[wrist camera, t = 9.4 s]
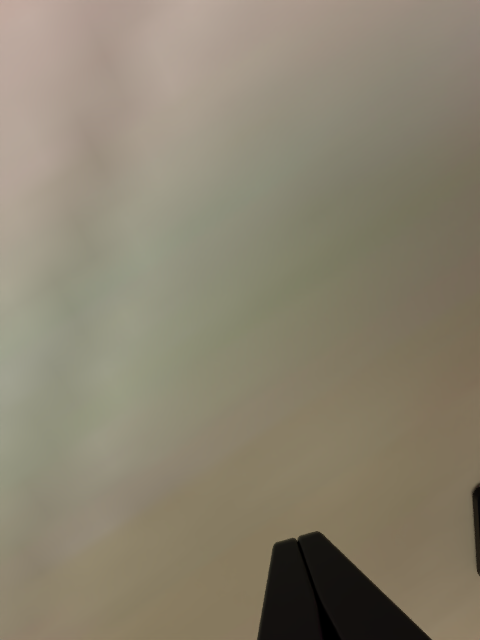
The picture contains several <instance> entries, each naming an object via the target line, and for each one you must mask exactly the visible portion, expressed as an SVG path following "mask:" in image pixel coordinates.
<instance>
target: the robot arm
mask: <svg viewBox="0 0 480 640" xmlns="http://www.w3.org/2000/svg"><path fill="white" fill-rule="evenodd" d="M473 509H474V526H475V542H476V558H477V572H478V574H479V576H480V487H479V488H477V489H476V490H475V491H474V493H473ZM297 541H298V542H297ZM257 640H432V639H431V638H430V637H429V636H428V635H427V634H426V633H424V632H423V631H422V630H421V629H420V628H419V627H418V626H417V625H416V624H415V623H414V622H413V621H412V620H411V619H410V618H409V617H408V616H407V615H406V614H405V613H404V612H403V611H402V610H401V609H400V608H399V607H398V606H397V605H395V604H394V603H393V602H392V601H391V600H390V599H389V598H388V597H387V596H386V595H385V594H384V593H383V592H382V591H381V590H380V589H379V588H378V587H377V586H376V585H375V584H374V583H373V582H372V581H371V580H370V579H369V578H368V577H366V576H365V575H364V574H363V573H362V572H361V571H360V570H359V569H358V568H357V567H356V566H355V565H354V564H353V563H352V562H351V561H350V560H349V559H348V558H347V557H346V556H345V555H344V554H343V553H342V552H341V551H340V550H339V549H337V548H336V547H335V546H334V545H333V544H332V543H331V542H330V541H329V540H328V539H327V538H326V537H325V536H324V535H323V534H322V533H320V532H318V531H315V532H312V533H308V534H305V535H301V536H299V537H298V540H296V539H295V538H290V539H287V540H283V541H280V542H276V543H275V544H274V546H273V549H272V555H271V561H270V567H269V573H268V579H267V585H266V591H265V596H264V602H263V608H262V614H261V620H260V626H259V632H258V637H257Z"/></svg>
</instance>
